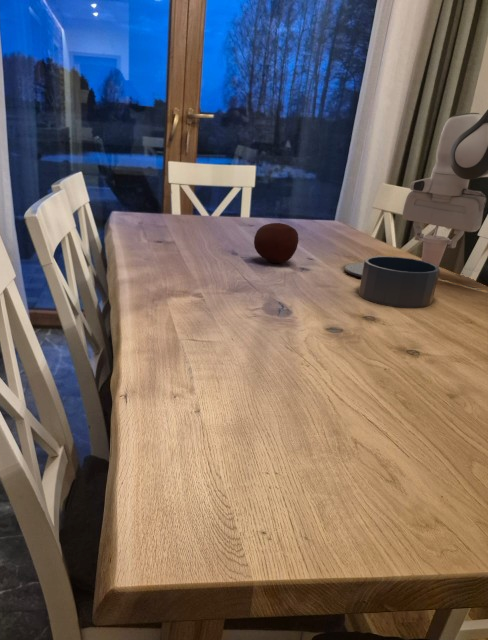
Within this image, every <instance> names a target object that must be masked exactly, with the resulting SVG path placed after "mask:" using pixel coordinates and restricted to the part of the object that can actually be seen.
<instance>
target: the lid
mask: <svg viewBox="0 0 488 640" xmlns="http://www.w3.org/2000/svg"><path fill="white" fill-rule="evenodd" d="M376 256H377V255H375V256H374V257H376ZM363 267H364V262H355V263H348V264H345V266H344V271H345V272H346V273H348V274H350V275H352V276H356V277H357V278H361V277H362V272H363Z"/></svg>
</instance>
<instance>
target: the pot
mask: <svg viewBox="0 0 488 640" xmlns="http://www.w3.org/2000/svg"><path fill="white" fill-rule="evenodd" d="M375 256H376V257H375ZM375 256H370V257H369V256H368V257H367V258H365V259H364V260H363V261H364V262H363V263H364V267H363V272H362V277H360V283H359V288H358V295H359V296H360V297H361V298H362V299H363V300H365V301H368V302H371V303H374V304H377V305H382V306H387V307H394V308H405V309H416V308H417V309H418V308H419V309H420V308H425V307H428V306H430V305H431V304H432V302H433V299H434V295H435V292H436V289H437V282H438V279H439V275H440V271H441V269H440V266H439V267H438V266H436V265H434V264H431V263H428V262H425V261H422V259H421V260H420V259H415V258H411V257H410V258H409V257H402V256H391V255H390V256H388V255H375Z"/></svg>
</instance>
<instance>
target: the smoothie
mask: <svg viewBox="0 0 488 640" xmlns="http://www.w3.org/2000/svg"><path fill="white" fill-rule="evenodd" d="M434 229H435V230H434V234H427V235H425V234H424V236H423V240H422V241H423V243H422V252H421V261H425V262H428V263H431V264H434V265H436V266H438V267H439V268H440V264H441V262H442V259H443V256H444V253H445V251H446V248H447V244H448V243H447V242H448V240H450V238H449V237H447V236H442V235H437V234H438V229H439V226H436V225H435V228H434Z"/></svg>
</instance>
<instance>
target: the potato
mask: <svg viewBox="0 0 488 640" xmlns="http://www.w3.org/2000/svg"><path fill="white" fill-rule="evenodd" d="M299 241H300V240H299V233H298V230H297V229H296V228H294V227H293V226H292V225H289V224H287V223H282V222H271V223H267V224H264V225H262V226H260V227H259V228H258V229H257V230H256V232H255V235H254V238H253V246H254V249H255V251H256V253H257V254H258V255H259V256H260V257H261V258H262V259H264V260H266V261H267V262H269V263H272V264H283V263H286V262H288V261H290V259H291V258H292V257H293V256H294V254H296V251H297V249H298V245H299Z"/></svg>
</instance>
